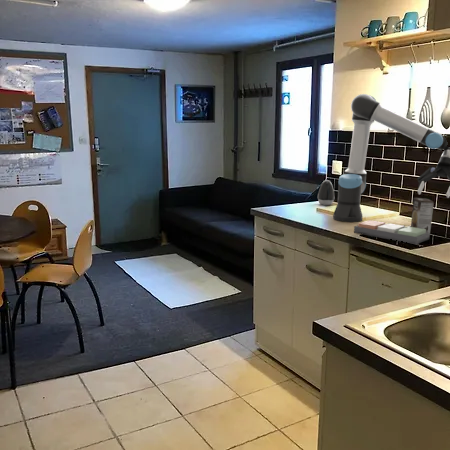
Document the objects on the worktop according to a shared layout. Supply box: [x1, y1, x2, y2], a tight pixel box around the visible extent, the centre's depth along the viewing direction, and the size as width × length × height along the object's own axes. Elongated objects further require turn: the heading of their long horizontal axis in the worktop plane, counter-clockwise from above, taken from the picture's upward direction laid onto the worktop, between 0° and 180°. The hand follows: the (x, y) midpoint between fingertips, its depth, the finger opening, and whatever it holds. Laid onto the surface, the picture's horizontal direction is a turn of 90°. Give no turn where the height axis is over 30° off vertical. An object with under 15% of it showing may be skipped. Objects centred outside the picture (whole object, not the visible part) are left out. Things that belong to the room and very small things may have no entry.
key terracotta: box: [357, 219, 386, 229], centre depth 230 cm, size 8×11×2 cm
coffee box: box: [410, 197, 435, 234], centre depth 229 cm, size 9×6×16 cm
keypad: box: [353, 224, 431, 245], centre depth 224 cm, size 30×14×3 cm, turn 46°
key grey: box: [377, 223, 406, 233], centre depth 224 cm, size 8×11×2 cm
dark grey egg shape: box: [317, 179, 335, 206], centre depth 303 cm, size 10×10×15 cm
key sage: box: [398, 226, 426, 237], centre depth 217 cm, size 8×11×2 cm
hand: (432, 194), depth 235 cm, fingers open, 13 cm apart
